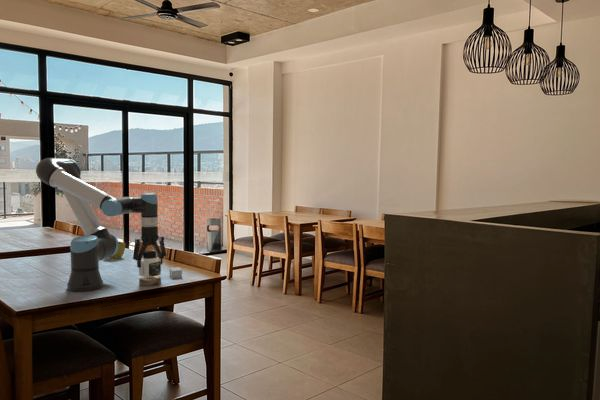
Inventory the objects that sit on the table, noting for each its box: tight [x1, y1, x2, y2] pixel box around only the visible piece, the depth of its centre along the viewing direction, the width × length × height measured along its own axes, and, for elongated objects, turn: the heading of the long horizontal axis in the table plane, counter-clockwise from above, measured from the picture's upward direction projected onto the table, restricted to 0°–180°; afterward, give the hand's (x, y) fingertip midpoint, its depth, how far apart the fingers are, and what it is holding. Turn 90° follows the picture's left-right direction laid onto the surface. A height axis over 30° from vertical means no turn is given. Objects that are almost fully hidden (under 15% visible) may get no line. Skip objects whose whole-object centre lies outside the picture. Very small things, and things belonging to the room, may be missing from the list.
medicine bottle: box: [138, 249, 162, 278], centre depth 229 cm, size 7×7×12 cm
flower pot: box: [108, 241, 126, 259], centre depth 289 cm, size 9×9×9 cm
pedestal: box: [138, 275, 162, 287], centre depth 229 cm, size 10×10×3 cm
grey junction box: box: [169, 267, 183, 279], centre depth 244 cm, size 7×5×4 cm
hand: (150, 272), depth 229 cm, fingers closed on medicine bottle, 8 cm apart
